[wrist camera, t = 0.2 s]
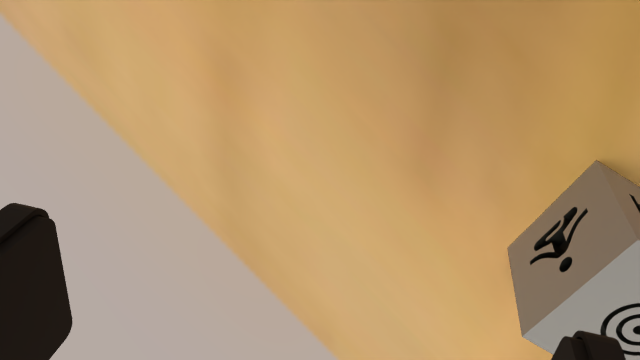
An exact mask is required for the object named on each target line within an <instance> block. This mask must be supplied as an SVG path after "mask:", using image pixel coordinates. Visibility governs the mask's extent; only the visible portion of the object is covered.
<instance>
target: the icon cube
mask: <svg viewBox="0 0 640 360" xmlns="http://www.w3.org/2000/svg"><path fill="white" fill-rule="evenodd" d="M508 255H509V261H510V267H511V273H512V279H513V285H514V291H515V297H516V303H517V309H518V315H519V321H520V327H521V333H522V337H524V338H525V339H527V340H529V341H531V342H532V343H534V344H536V345H537V346H539V347H541V348H543V349H544V350H546V351H548V352H550V353H551V354H553V355H554V353H555V351H556V349H557V347H558V345H559V343H560V341H561V339H562V338H563V337H564V336H568V337H573V335H574V334H575V332H577V331H578V330H581V331H586V332H590V333H595V334H599V335H604V336H608V337H613V338H615V339H617V340H618V341H619V343H620V345H621V347H622V350H623V353H624V355H625V358H626V360H640V187H639V186H637V185H635V184H634V183H632V182H631V181H629V180H627V179H626V178H624V177H623V176H621V175H619V174H618V173H616V172H615V171H613V170H611V169H610V168H608V167H606V166H605V165H603V164H602V163H600V162H598V161H597V160H596V161H595V162H594V163H593V164H592V165H591V166H590V167H589V168H588V169H587V170H586V171H585V172H584V173H583V174H582V175H581V176H580V177H579V178H578V179H577V180H576V181H575V182H574V183H573V184H572V185H571V186H570V187H569V188H568V189H567V190H566V191H565V192H564V193H563V194H561V195H560V196H559V197H558V198H557V199H556V200H555V201H554V202H553V203H552V204H551V205H550V206H549V207H548V208H547V209H546V210H545V211H544V212H543V213H542V214H541V215H540V216H539V217H538V218H537V219H536V220H535V221H534V222H533V223H532V224H531V225H530V226H529V227H528V228H527V229H526V230H525V231H524V232H523V233H522V234H521V235H520V236H519V237H518V238H517V239H516V240H515V241H514V242H513V243H512V244H511V245H510V246H509V247H508Z"/></svg>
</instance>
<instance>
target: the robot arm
mask: <svg viewBox="0 0 640 360" xmlns="http://www.w3.org/2000/svg"><path fill="white" fill-rule="evenodd" d="M71 327H72V316H71V310H70V304H69V299H68V293H67V287H66V282H65V276H64V271H63V265H62V260H61V254H60V249H59V243H58V237H57V232H56V226H55V223H54V221H53V220H52V219H49V216H48V213H47V212H46V211H45V210H43V209H40V208H35V207H31V206H26V205H22V204H17V203H11V204H9V205H7V206H5V207H4V208H2V209H1V210H0V360H49V359H50V358H51V357H52V355H53V354H54V353H55V352H56V350H57V349H58V348H59V347H60V346H61V344H62V343H63V342H64V340H65V339H66V338H67V336H68V335H69V333H70V330H71ZM551 360H626V358H625V355H624V353H623V350H622V347H621V345H620V343H619V341H618V340H617V339H615V338H613V337H608V336H604V335H599V334H595V333H590V332H586V331H581V330H578V331H577V332H575V334H574V335H573V337H568V336H564V337H563V338H562V339H561V341H560V343H559V345H558V347H557V349H556V351H555V353H554V355H553V357H552V359H551Z"/></svg>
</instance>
